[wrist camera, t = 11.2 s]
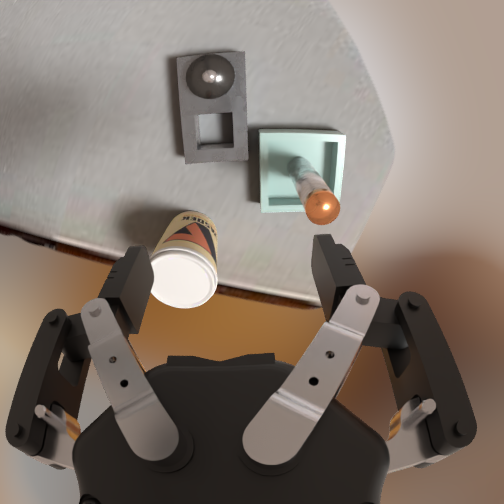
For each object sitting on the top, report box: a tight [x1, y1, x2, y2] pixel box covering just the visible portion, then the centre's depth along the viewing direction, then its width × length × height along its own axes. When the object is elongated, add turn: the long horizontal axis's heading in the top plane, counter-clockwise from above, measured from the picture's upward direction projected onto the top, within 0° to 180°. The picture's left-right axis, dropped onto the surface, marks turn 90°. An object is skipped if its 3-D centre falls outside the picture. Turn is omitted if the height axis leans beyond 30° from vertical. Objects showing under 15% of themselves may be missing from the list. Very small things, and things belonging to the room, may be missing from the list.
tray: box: [259, 129, 346, 213], centre depth 36 cm, size 11×11×3 cm
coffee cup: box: [149, 211, 217, 308], centre depth 38 cm, size 9×9×12 cm
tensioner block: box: [177, 52, 248, 164], centre depth 30 cm, size 14×8×5 cm, turn 2°
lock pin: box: [287, 157, 340, 225], centre depth 32 cm, size 3×3×13 cm
